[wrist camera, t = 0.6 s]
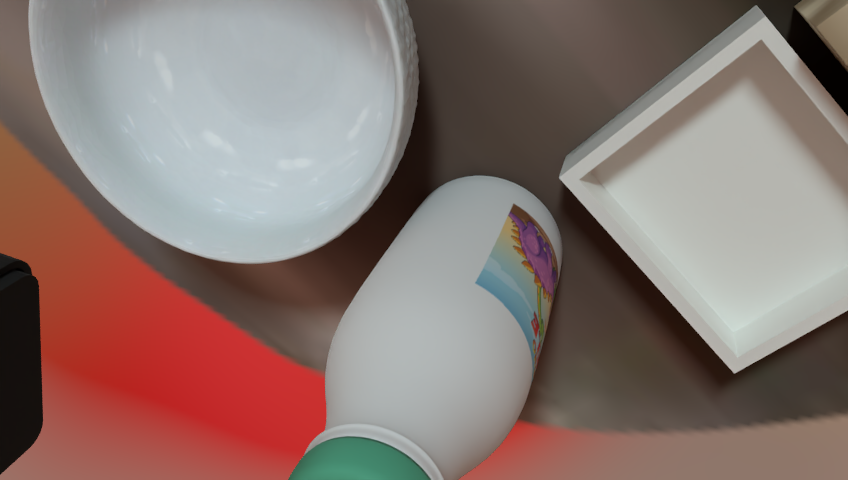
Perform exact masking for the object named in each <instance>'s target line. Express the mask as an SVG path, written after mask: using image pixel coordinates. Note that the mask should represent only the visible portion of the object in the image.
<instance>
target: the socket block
mask: <svg viewBox="0 0 848 480" xmlns="http://www.w3.org/2000/svg"><path fill="white" fill-rule="evenodd" d="M794 7H795V8H796V10H797V11H798V12H799V13H800V14H801V16H802V17H803V18H804V19H805V21H806V22H807V23H808V24H809V26H810V27H811V28H812V29H813V30H814V32H815V33H816V34H817V35H818V37H819V38H820V39H821V40H822V42H823V43H824V44H825V45H826V47H827V48H828V49H829V50H830V51H831V53H832V54H833V55H834V56H835V58H836V59H837V60H838V61H839V63H840V64H841V65H842V66H843V67H844V69H845V70H846V71H847V72H848V0H802V1H801V2H799V3H798V4H797V5H795V6H794Z"/></svg>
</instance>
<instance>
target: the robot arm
mask: <svg viewBox="0 0 848 480" xmlns="http://www.w3.org/2000/svg"><path fill="white" fill-rule="evenodd" d="M41 377H42V374H41V341H40V310H39V285H38V280H37V279H36V277H34V276H32V272H31V268H30V267H29V265H28V264H27V263H25V262H23V261H22V260H19V259H15V258H12V257H10V256H7V255H4V254H1V253H0V474H1V473H2V472H4V471H5V470H6V469H7V468H8V467H9V466H10V465H11V464H12V463H13V462H15V461H16V460H17V459H18V458H19V457H20V456H21V455H22V454H23V453H24V452H25V451H27V450H28V449H29V448H30V447H31V446H32V445H33V444H34V442H35V441H36V439H37V437H38V436H39V434H40V431H41V428H42V424H43V409H42V408H43V407H42V378H41Z"/></svg>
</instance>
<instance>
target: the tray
mask: <svg viewBox="0 0 848 480" xmlns="http://www.w3.org/2000/svg"><path fill="white" fill-rule="evenodd" d="M559 178H560V179H561V181H562V182H563V183H564V184H565V185H566V186H567V187H568V188H569V190H570V191H571V192H572V193H573V194H574V195H575V196H576V197H577V198H578V200H579V201H580V202H581V203H582V204H583V205H584V206H585V207H586V209H587V210H588V211H589V212H590V213H591V214H592V215H593V216H594V217H595V219H596V220H597V221H598V222H599V223H600V224H601V225H602V226H603V228H604V229H605V230H606V231H607V232H608V233H609V234H610V235H611V236H612V238H613V239H614V240H615V241H616V242H617V243H618V244H619V245H620V246H621V248H622V249H623V250H624V251H625V252H626V253H627V254H628V255H629V257H630V258H631V259H632V260H633V261H634V262H635V263H636V264H637V265H638V267H639V268H640V269H641V270H642V271H643V272H644V273H645V274H646V276H647V277H648V278H649V279H650V280H651V281H652V282H653V283H654V284H655V286H656V287H657V288H658V289H659V290H660V291H661V292H662V293H663V295H664V296H665V297H666V298H667V299H668V300H669V301H670V302H671V303H672V305H673V306H674V307H675V308H676V309H677V310H678V311H679V312H680V314H681V315H682V316H683V317H684V318H685V319H686V320H687V321H688V322H689V324H690V325H691V326H692V327H693V328H694V329H695V330H696V331H697V333H698V334H699V335H700V336H701V337H702V338H703V339H704V340H705V341H706V343H707V344H708V345H709V346H710V347H711V348H712V349H713V350H714V352H715V353H716V354H717V355H718V356H719V357H720V358H721V359H722V360H723V362H724V363H725V364H726V365H727V366H728V367H729V368H730V369H731V371H732V372H733V373H734V374H735V373H736V372H738V371H740V370H742V369H744V368H745V367H747V366H749V365H751V364H753V363H754V362H756V361H758V360H760V359H761V358H763V357H765V356H767V355H769V354H770V353H772V352H774V351H776V350H778V349H779V348H781V347H783V346H785V345H787V344H788V343H790V342H792V341H794V340H796V339H797V338H799V337H801V336H803V335H805V334H806V333H808V332H810V331H812V330H813V329H815V328H817V327H819V326H821V325H822V324H824V323H826V322H828V321H830V320H831V319H833V318H835V317H837V316H839V315H840V314H842V313H844V312H846V311H848V116H847V115H846V114H845V112H844V111H843V110H842V109H841V108H840V106H839V105H838V104H837V103H836V102H835V100H834V99H833V98H832V97H831V95H830V94H829V93H828V92H827V91H826V89H825V88H824V87H823V86H822V84H821V83H820V82H819V81H818V80H817V78H816V77H815V76H814V75H813V73H812V72H811V71H810V70H809V69H808V67H807V66H806V65H805V64H804V62H803V61H802V60H801V59H800V58H799V56H798V55H797V54H796V53H795V51H794V50H793V49H792V48H791V47H790V45H789V44H788V43H787V42H786V40H785V39H784V38H783V37H782V36H781V34H780V33H779V32H778V31H777V29H776V28H775V27H774V26H773V25H772V23H771V22H770V21H769V20H768V18H767V17H766V16H765V15H764V14H763V12H762V11H761V10H760V9H759V7H758V6H757V5H756V6H755V7H753V8H752V9H751V10H749V11H748V12H747V13H746V14H744V15H743V16H742V17H741V18H739V19H738V20H737V21H736V22H734V23H733V24H732V25H731V26H729V27H728V28H727V29H726V30H724V31H723V32H722V33H721V34H719V35H718V36H717V37H715V38H714V39H713V40H712V41H710V42H709V43H708V44H707V45H705V46H704V47H703V48H702V49H700V50H699V51H698V52H697V53H695V54H694V55H693V56H692V57H690V58H689V59H688V60H687V61H685V62H684V63H683V64H681V65H680V66H679V67H678V68H676V69H675V70H674V71H673V72H671V73H670V74H669V75H668V76H666V77H665V78H664V79H663V80H661V81H660V82H659V83H658V84H656V85H655V86H654V87H653V88H651V89H650V90H649V91H647V92H646V93H645V94H644V95H642V96H641V97H640V98H639V99H637V100H636V101H635V102H634V103H632V104H631V105H630V106H629V107H627V108H626V109H625V110H624V111H622V112H621V113H620V114H618V115H617V116H616V117H615V118H613V119H612V120H611V121H610V122H608V123H607V124H606V125H605V126H603V127H602V128H601V129H600V130H598V131H597V132H596V133H595V134H593V135H592V136H591V137H590V138H588V139H587V140H586V141H584V142H583V143H582V144H581V145H579V146H578V147H577V148H576V149H574V150H573V151H572V152H571V153H569V154H568V155H567V156H566V158H565V161H564V164H563V167H562V170H561V173H560V176H559Z"/></svg>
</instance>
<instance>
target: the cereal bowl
mask: <svg viewBox="0 0 848 480" xmlns="http://www.w3.org/2000/svg"><path fill="white" fill-rule="evenodd" d="M28 16H29V36H30V47H31V54H32V60H33V65H34V70H35V75H36V78H37V82H38V85H39V89H40V92H41V95H42V98H43V101H44V104H45V106H46V109H47V111H48V114H49V116H50V118H51V120H52V122H53V124H54V127H55V129H56V131H57V133H58V134H59V136H60V138H61V140H62V142H63V143H64V145H65V147H66V148H67V150H68V151H69V153H70V155H71V156H72V158H73V159H74V161H75V162H76V164H77V165H78V166H79V168H80V169H81V171H82V172H83V173H84V175H85V176H86V177H87V178H88V180H89V181H90V182H91V183H92V184H93V186H94V187H95V188H96V189H97V190H98V191H99V192H100V193H101V194H102V195H103V197H104V198H105V199H107V200H108V201H109V202H110V203H111V204H112V205H113V206H114V207H115V208H116V209H117V210H119V211H120V212H121V213H122V214H123V215H124V216H126V217H127V218H128V219H130V220H131V221H132V222H134V223H135V224H136V225H138V226H139V227H140V228H142V229H143V230H145V231H146V232H148V233H150V234H151V235H153V236H155V237H156V238H158V239H160V240H162V241H164V242H166V243H168V244H170V245H172V246H174V247H177V248H179V249H181V250H183V251H186V252H189V253H191V254H195V255H198V256H201V257H204V258H208V259H213V260H217V261H222V262H229V263H239V264H263V263H273V262H279V261H284V260H289V259H292V258H295V257H299V256H302V255H304V254H307V253H310V252H312V251H314V250H316V249H318V248H320V247H322V246H324V245H326V244H327V243H329V242H331V241H332V240H334V239H335V238H337V237H339V236H341V235H342V234H343V232H345V231H346V230H347V229H348V228H349V227H351V226H352V225H353V224H355V223H356V222H358V220H359V219H360V217H361V216H362V215H363V214H364V213H365V212H367V211H368V210H369V208H370V207H371V206H373V203H374V201H375V200H377V199H378V197H379V196H380V195H381V193H382V191H383V189H384V188H385V187H386V186H387V184H388V183H389V182H390V179H391V177H392V176H393V175H394V172H395V170H396V169H397V166H398V164H399V162H400V160H401V158H402V157H403V155H404V150H405V149H406V145H407V143H408V139H409V137H410V135H411V129H412V124H413V122H414V115H415V109H416V106H417V98H418V94H417V93H418V85H419V78H418V76H419V69H418V62H419V59H418V55H417V47H418V46H417V43H416V40H415V37H416V35H415V32H414V30H413V22H412V19H411V17H410V15H409V10H408V6H407V4H406V1H405V0H29V15H28Z"/></svg>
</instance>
